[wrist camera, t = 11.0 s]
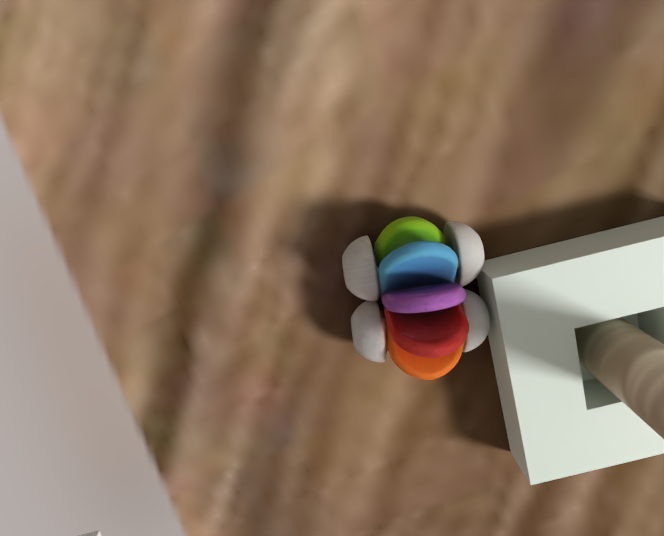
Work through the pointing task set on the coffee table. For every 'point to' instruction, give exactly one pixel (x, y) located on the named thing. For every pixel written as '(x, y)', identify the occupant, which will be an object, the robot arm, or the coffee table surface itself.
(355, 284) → the rainbow wheeled toy
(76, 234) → the coffee table surface
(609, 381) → the peg
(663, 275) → the socket block
